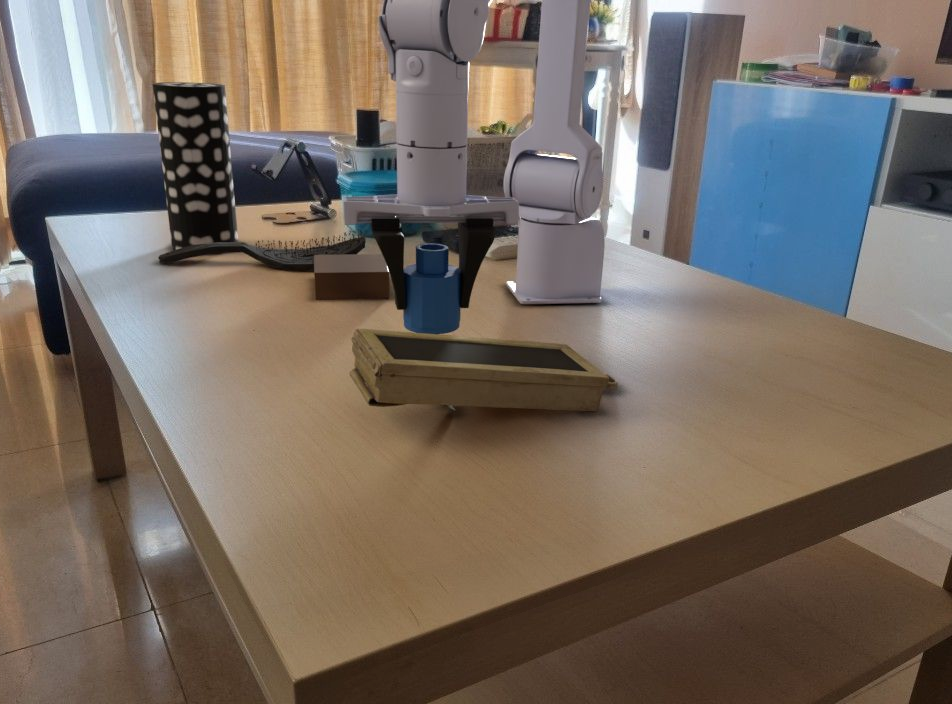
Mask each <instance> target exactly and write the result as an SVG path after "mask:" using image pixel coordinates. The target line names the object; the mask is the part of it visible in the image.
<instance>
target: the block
mask: <svg viewBox="0 0 952 704" xmlns="http://www.w3.org/2000/svg"><path fill="white" fill-rule="evenodd" d="M313 275H314V277H313V278H314V295H315V300H317V301H318V300H363V299H364V300H365V299H370V300H371V299H390V297H391V296H390V273H389V270H388V267H387V264H386V262H385V259H384V257H383V255H382V253H371V254H370V253H368V254H367V253H366V254H365V253H363V254H361V253H357V254H350V255H314V270H313Z"/></svg>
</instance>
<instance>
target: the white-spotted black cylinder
mask: <svg viewBox="0 0 952 704" xmlns="http://www.w3.org/2000/svg"><path fill="white" fill-rule="evenodd" d="M152 91H153V101H154V108H155V116H156V124H157V132H158V133H157V134H158V142H159V150H160V158H161V167H162V168H161V169H162V175H163V183H164V184H163V185H164V192H165V200H166V208H167V217H168V224H169V225H168V226H169V234H170V242H171V243H170V244H171V248H172V251H173V250H177V249H180V248H184V247H188V246H191V245H196V244H206V243H215V242H239V234H238V233H239V232H238V221H237V211H236V209H237V208H236V200H235V187H234V175H233V174H234V173H233V164H232V153H231V140H230V131H229V130H230V129H229V118H228V106H227V95H226V86H225V85H224V84H220V83H207V82H187V81H185V82H182V81H181V82H179V81H175V82H174V81H169V82H168V81H167V82H166V81H165V82H154V83H152Z"/></svg>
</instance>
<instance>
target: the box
mask: <svg viewBox="0 0 952 704" xmlns="http://www.w3.org/2000/svg"><path fill="white" fill-rule="evenodd" d="M350 340H351V343H352V345H351V352H352V353H353V355H354V365H353V366H354V368H352V369H351V370H350V371H349V376H350V378H351V380H352V381H353V383H354V384H355V386H356V388H358V390H359V392H360V393H361V395H362V397H363V398H364V400H365V402H366V403H367V405H368V406H369V407H377V408H387V407H390V408H391V407H399V406H405V405H423V406H424V405H425V406H440V407H443V408H446V409H448V410H451V411H453V412H455V411H456V409H455V407H478V408H500V409H501V408H503V409H529V410H530V409H531V410H554V411H555V410H556V411H579V412H580V411H583V412H598V411H599V409H600V405H601V402H602V399H603V395H604V391H605V389H609V390H613V391H616V390H617V388H618V384H619V382H618V381H617V380H616V378H614V377H612V376H611V375H609V374H607V373H605V372H604V371H602V370H601V369H599V368H598V367H597V366H596V365H594V364H593V363H592V362H590V361H589V360H587V359H586V358H584V356H582V355H581V354H580V353H578V352H577V351H576V350H574V349H573V348H572V347H570V346H569V344H566V343H555V342H543V341H542V342H541V341H527V340H514V339H510V340H509V339H498V338H489V337H488V338H487V337H474V336H463V335H449V334H425V333H415V332H412V331H396V330H384V329H373V328H372V329H369V328H359V327H357V328H356V329H355V330H353V335H352V337H351V338H350Z"/></svg>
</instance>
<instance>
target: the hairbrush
mask: <svg viewBox="0 0 952 704" xmlns="http://www.w3.org/2000/svg"><path fill="white" fill-rule="evenodd" d="M357 231H358V232H360V233H358V234H357V235H356V230H353V231H352V230H350V231H349V233H348V234H347V232H343V236H339V237H337V236H335V235H333V237H332V238H333V239H332V241H331V240H330V237H329V236H328V237H327V238H325V237H321V241H319V240H318V238H317V237H315V241H314V239H313V238H310V239H309V241H308V242H307V243H306V244H305V242H306V241H305V239H303V241H302V240H300V243H301V246H303V247H300V246H299V241H297V243H295V247H294V243H293V240H289V243H290V248H288V245H287V240H285V242H284V246H283V242H282V241H281V240H278V246H279V248H276V247H275V246H273V245H275V239H273V243H272V242H271V243H269V242H270V241H269V240H267V244H265V247H263V246H262V245H260V240H257V242H255V245H253V244H250V243H247V242H244V241H243V242H241V241H238V242H215V243H206V244H196V245H191V246H188V247H184V248H180V249H177V250H173V249H172V250H170V251H168V252H165V253H161V254H160V255H158V257H157V258H158V261H159V264H160V265H161V264H171V263H175V262H179V261H183V260H187V259H191V258H195V257H201V256H206V255H211V254H212V255H213V254H233V253H237V254H238V253H242V254H245V255H247V256H248V257H251V258H252V259H254V260H256V261H258V262H260V263H263V264H265V265H267V266H270V267H272V268H274V269H280V270H284V271H291V272H310V271H311V272H312V271H313V272H314V255H350V254H360V252H362V251H363V249H365V248H366V246H367V239H366V237H365V236H363V231H362V229H360V228H358V229H357ZM352 232H353V233H352ZM348 235H349V236H351V237H349V239H346V237H347V236H348ZM356 236H357V237H356ZM335 238H336V239H337V242H336V241H335ZM317 240H318V241H317ZM311 241H312V242H311ZM261 242H262V243H264V240H263V239H262V241H261ZM324 242H326V244H325V245H324ZM312 243H314V244H315V246H312ZM308 246H309V247H308ZM270 247H271V248H270ZM282 247H283V248H282Z"/></svg>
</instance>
